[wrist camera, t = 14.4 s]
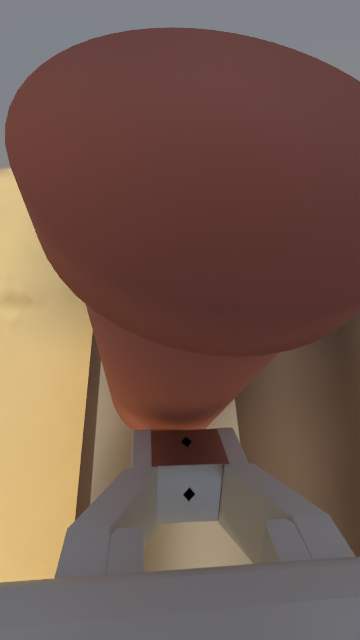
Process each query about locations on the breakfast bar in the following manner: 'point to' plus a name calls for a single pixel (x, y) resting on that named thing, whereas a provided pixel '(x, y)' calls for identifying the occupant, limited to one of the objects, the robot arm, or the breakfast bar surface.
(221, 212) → the red plug
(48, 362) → the breakfast bar surface
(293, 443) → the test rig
